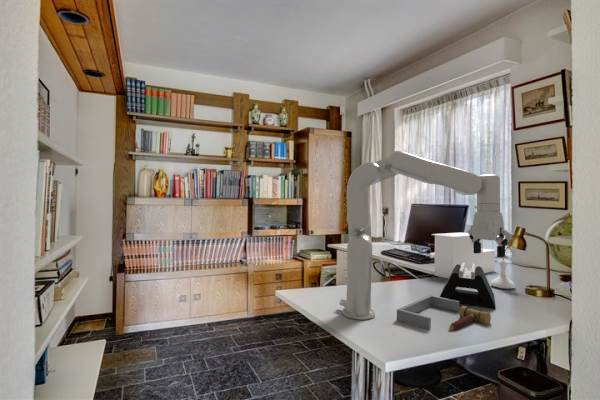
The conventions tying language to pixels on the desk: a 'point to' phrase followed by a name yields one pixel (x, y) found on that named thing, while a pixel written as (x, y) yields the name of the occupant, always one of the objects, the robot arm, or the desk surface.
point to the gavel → (470, 317)
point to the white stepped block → (459, 254)
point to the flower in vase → (503, 275)
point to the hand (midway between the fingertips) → (488, 255)
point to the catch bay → (411, 310)
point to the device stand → (469, 280)
